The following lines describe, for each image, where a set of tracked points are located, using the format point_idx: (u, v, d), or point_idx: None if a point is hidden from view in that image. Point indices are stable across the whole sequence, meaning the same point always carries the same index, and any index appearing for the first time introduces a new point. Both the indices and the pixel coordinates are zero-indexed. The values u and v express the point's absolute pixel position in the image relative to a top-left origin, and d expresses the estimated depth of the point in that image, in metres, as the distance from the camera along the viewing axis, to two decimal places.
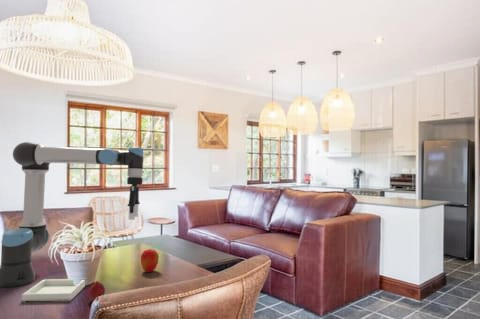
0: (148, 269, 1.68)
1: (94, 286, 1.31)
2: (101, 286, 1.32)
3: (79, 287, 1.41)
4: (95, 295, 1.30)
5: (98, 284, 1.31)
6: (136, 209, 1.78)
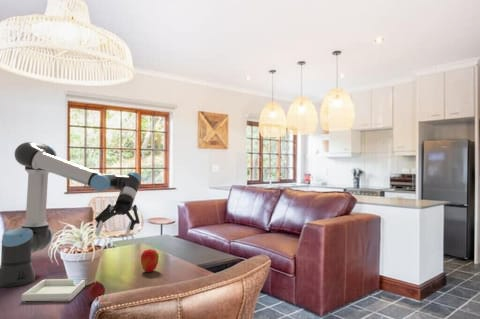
0: (148, 269, 1.68)
1: (94, 286, 1.31)
2: (101, 286, 1.32)
3: (79, 287, 1.41)
4: (95, 295, 1.30)
5: (98, 284, 1.31)
6: (101, 228, 1.49)
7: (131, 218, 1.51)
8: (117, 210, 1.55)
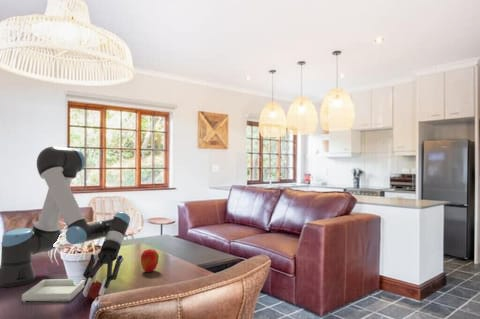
0: (148, 269, 1.68)
1: (94, 286, 1.31)
2: None
3: (79, 287, 1.41)
4: (95, 295, 1.30)
5: (98, 284, 1.31)
6: (89, 286, 1.32)
7: (108, 273, 1.34)
8: (102, 259, 1.39)
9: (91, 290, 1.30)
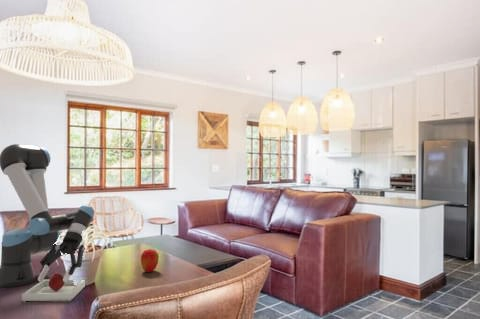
0: (148, 269, 1.68)
1: (53, 277, 1.37)
2: (60, 277, 1.38)
3: (79, 287, 1.41)
4: (54, 286, 1.36)
5: (57, 276, 1.38)
6: (45, 272, 1.39)
7: (72, 261, 1.41)
8: (63, 250, 1.45)
9: (50, 281, 1.37)
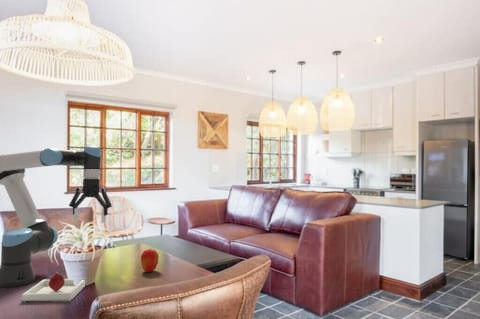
0: (148, 269, 1.68)
1: (53, 277, 1.37)
2: (60, 278, 1.38)
3: (79, 287, 1.41)
4: (54, 286, 1.36)
5: (57, 276, 1.38)
6: (78, 213, 1.62)
7: (102, 205, 1.60)
8: (87, 195, 1.61)
9: (50, 281, 1.37)
